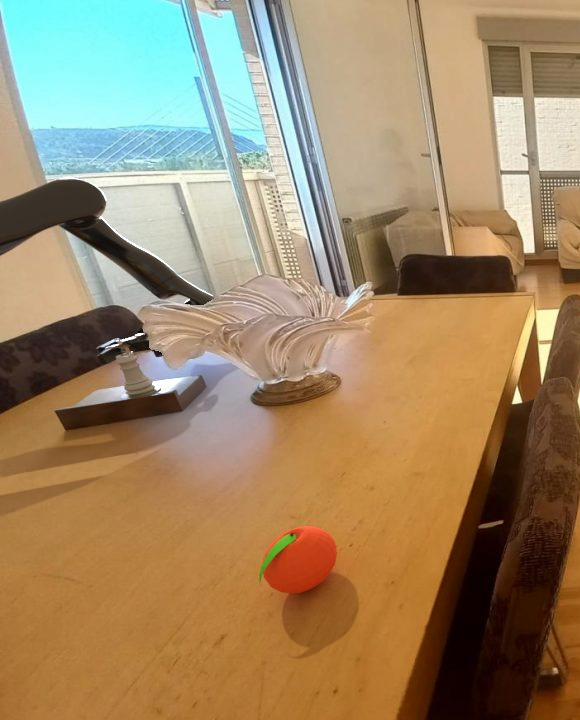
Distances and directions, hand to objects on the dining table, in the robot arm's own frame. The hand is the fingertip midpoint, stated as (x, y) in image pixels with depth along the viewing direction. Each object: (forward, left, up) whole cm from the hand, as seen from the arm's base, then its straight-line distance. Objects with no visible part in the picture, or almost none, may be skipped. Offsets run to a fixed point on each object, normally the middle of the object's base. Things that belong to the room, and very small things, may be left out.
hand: (129, 356), depth 94 cm
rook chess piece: (0, -1, -7) cm, 8 cm away
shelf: (-1, -2, -10) cm, 11 cm away
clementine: (+41, -66, -11) cm, 79 cm away
